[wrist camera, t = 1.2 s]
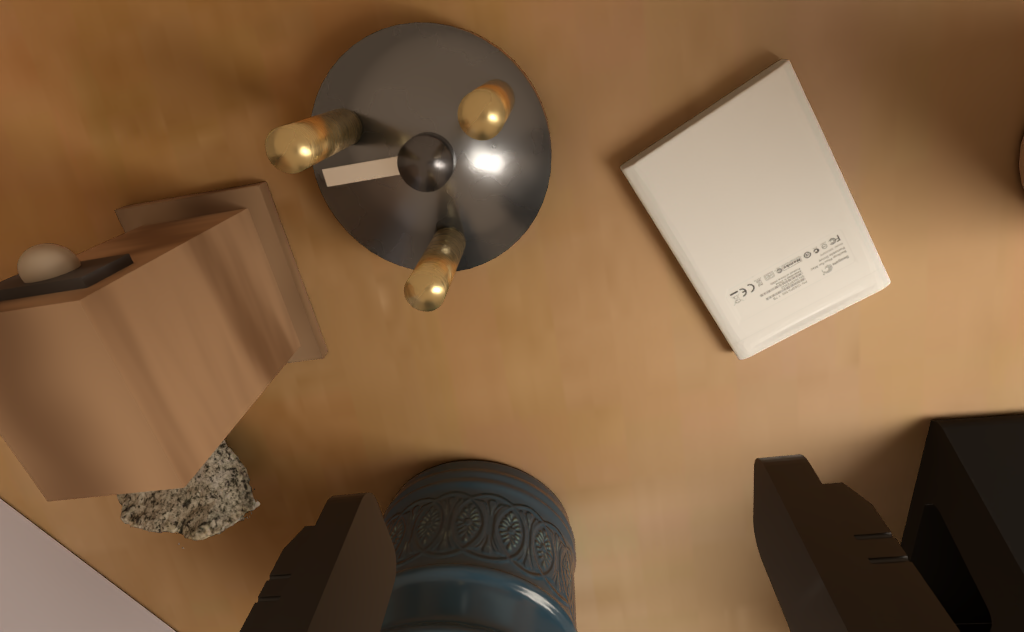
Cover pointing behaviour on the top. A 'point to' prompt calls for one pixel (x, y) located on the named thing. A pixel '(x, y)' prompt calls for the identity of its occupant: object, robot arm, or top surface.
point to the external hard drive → (759, 213)
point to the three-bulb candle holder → (425, 151)
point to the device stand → (972, 521)
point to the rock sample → (195, 500)
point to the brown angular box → (148, 342)
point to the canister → (480, 553)
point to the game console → (58, 587)
